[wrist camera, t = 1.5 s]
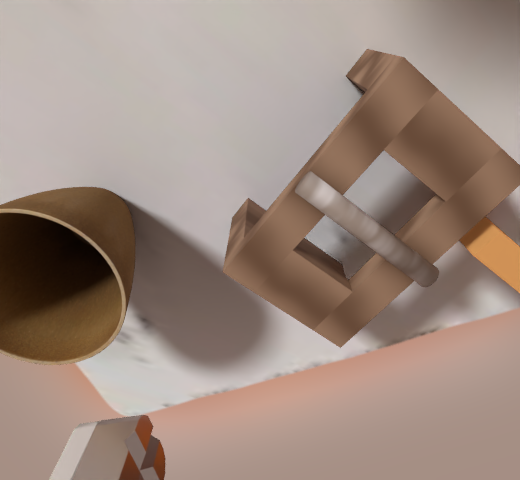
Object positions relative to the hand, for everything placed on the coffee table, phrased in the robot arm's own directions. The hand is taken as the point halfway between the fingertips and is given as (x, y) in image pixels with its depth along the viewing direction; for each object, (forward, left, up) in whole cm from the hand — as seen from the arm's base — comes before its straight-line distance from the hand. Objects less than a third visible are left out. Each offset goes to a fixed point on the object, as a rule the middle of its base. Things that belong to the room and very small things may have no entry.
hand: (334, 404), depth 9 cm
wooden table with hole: (+2, +10, -38) cm, 39 cm away
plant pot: (+22, -9, -38) cm, 45 cm away
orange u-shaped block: (-3, +23, -38) cm, 44 cm away
